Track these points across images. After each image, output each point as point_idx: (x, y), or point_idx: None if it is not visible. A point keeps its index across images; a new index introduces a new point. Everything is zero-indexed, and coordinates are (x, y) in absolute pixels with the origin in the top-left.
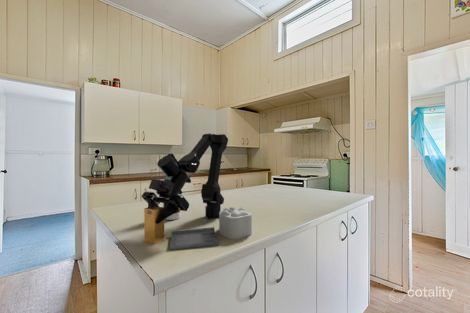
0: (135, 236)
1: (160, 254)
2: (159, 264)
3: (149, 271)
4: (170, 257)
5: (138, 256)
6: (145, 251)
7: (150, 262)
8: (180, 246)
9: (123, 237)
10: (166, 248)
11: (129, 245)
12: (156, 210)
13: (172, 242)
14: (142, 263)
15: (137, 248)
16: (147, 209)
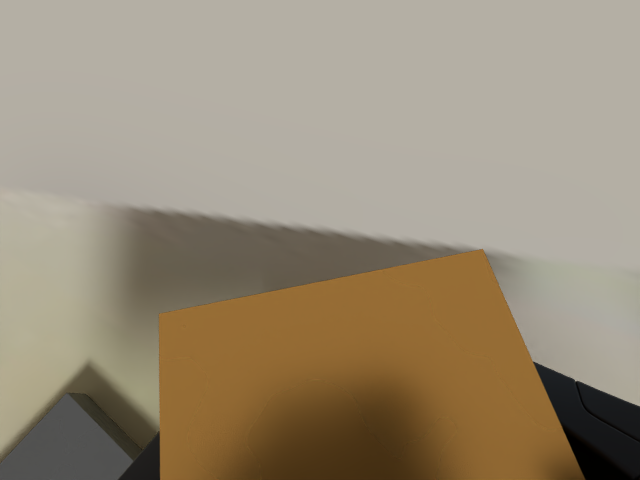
0: (539, 353)
1: (95, 314)
2: (10, 250)
3: (9, 192)
4: (5, 333)
5: (188, 223)
6: (213, 275)
7: (72, 232)
8: (4, 469)
9: (569, 282)
10: (130, 395)
11: (381, 251)
12: (168, 369)
13: (96, 455)
14: (101, 204)
15: (295, 264)
16: (381, 271)
